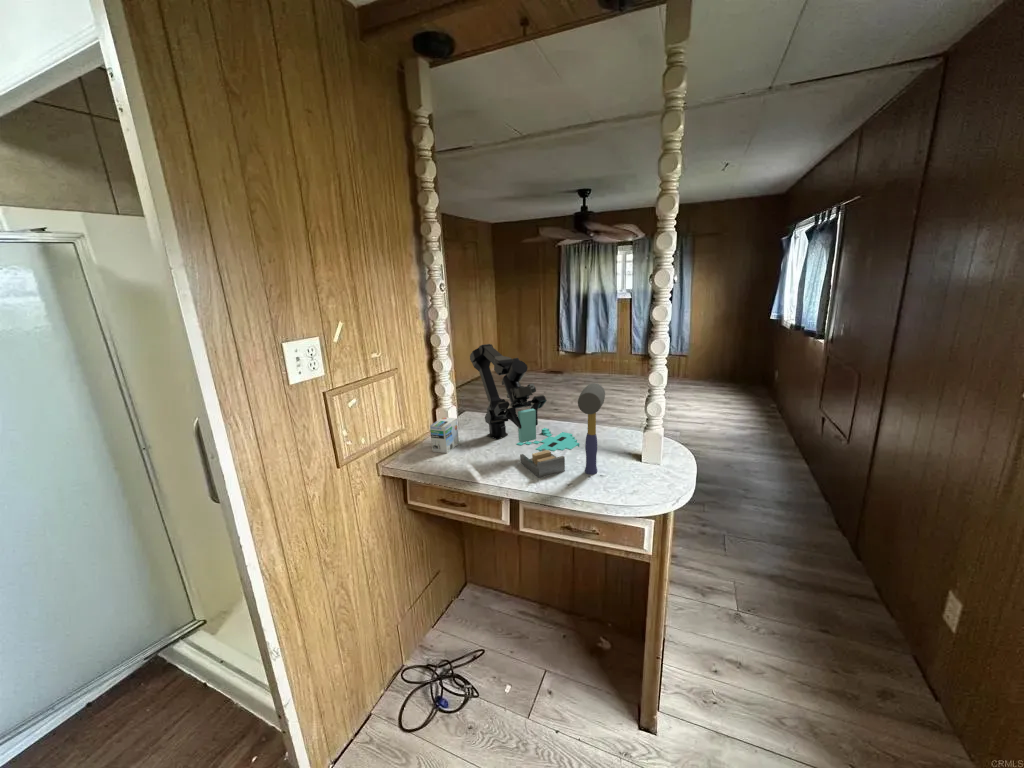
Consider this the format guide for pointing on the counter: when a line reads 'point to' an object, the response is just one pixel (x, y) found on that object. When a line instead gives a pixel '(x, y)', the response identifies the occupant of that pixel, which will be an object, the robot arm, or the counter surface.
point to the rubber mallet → (591, 421)
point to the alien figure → (555, 441)
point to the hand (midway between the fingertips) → (528, 426)
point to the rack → (544, 465)
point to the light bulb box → (444, 434)
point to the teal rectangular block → (527, 425)
